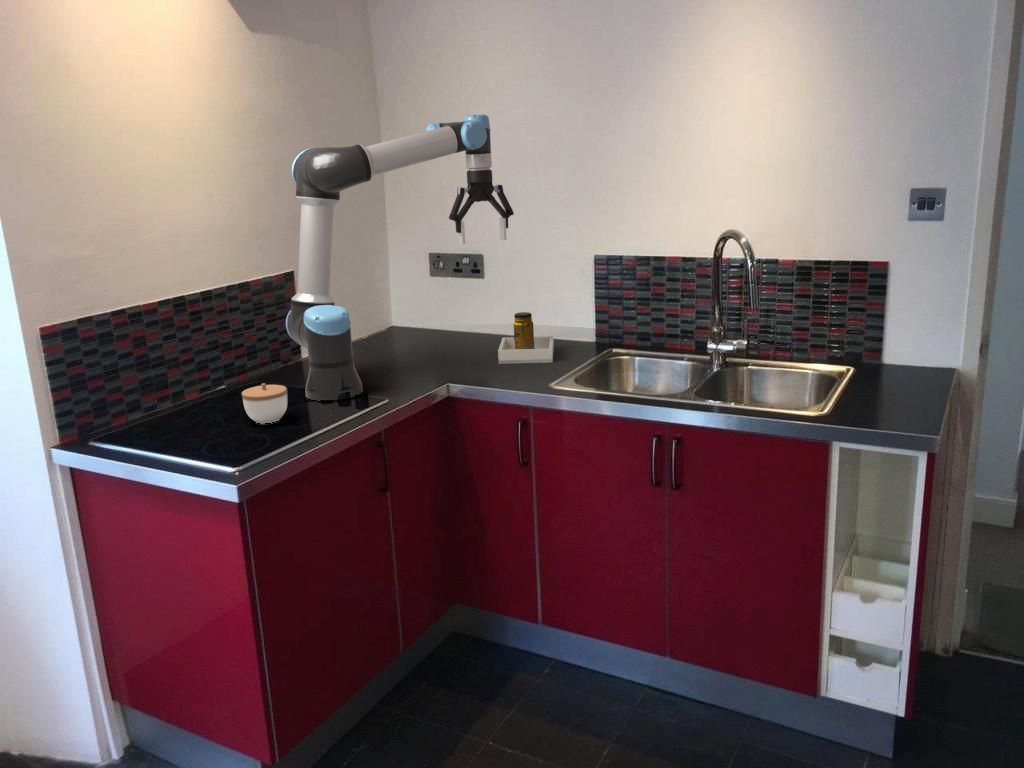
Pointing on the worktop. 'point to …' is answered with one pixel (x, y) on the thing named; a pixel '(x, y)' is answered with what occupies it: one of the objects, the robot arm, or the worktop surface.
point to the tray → (526, 351)
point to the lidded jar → (265, 402)
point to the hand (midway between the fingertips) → (483, 241)
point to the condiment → (523, 331)
